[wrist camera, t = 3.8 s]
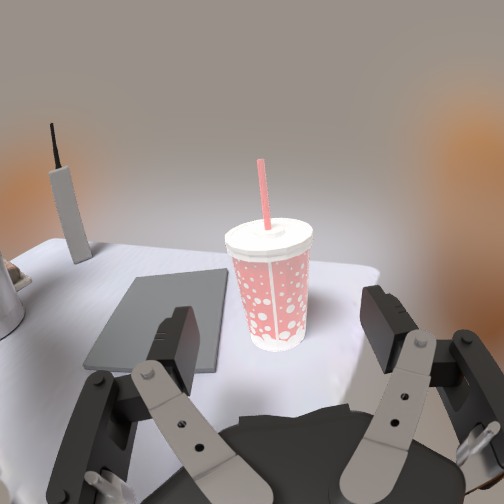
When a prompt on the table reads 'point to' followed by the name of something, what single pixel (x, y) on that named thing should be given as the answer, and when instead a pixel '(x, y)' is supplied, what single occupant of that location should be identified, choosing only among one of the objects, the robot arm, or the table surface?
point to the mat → (161, 319)
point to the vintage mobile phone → (68, 209)
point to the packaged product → (17, 276)
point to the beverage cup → (272, 274)
